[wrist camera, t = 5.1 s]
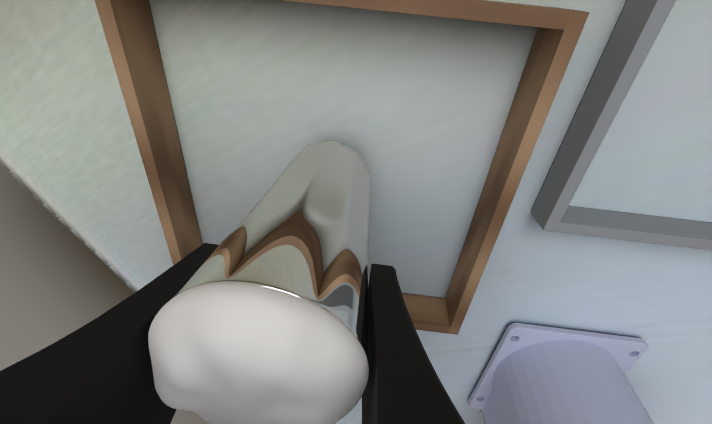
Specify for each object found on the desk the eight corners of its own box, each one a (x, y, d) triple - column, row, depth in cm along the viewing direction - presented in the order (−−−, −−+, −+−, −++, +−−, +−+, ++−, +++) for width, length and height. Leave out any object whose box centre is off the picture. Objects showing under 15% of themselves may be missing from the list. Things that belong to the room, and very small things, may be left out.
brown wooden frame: (452, 305, 20) (457, 334, 18) (200, 273, 20) (183, 299, 19) (560, 8, 11) (589, 12, 10) (126, -37, 12) (82, -41, 10)
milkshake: (277, 228, 16) (136, 506, 7) (272, 114, 12) (21, 382, 4) (375, 243, 15) (341, 546, 7) (395, 132, 12) (374, 447, 4)
